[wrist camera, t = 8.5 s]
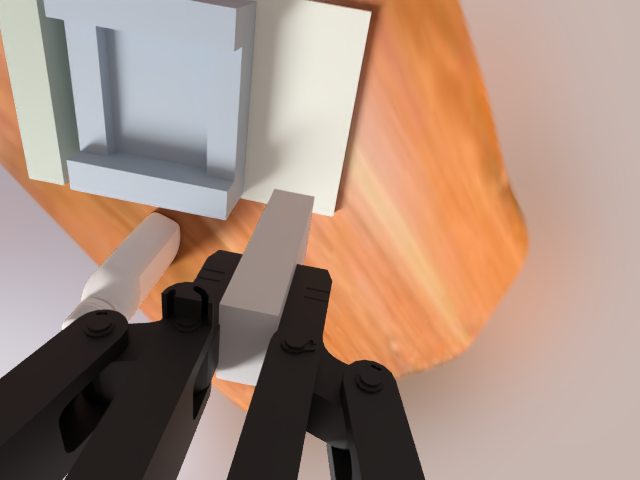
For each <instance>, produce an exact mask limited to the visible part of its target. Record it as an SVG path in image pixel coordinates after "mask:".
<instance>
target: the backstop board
mask: <svg viewBox="0 0 640 480" xmlns="http://www.w3.org/2000/svg"><path fill="white" fill-rule="evenodd" d="M250 1H256V2H257V4H256V18H255V32H254V46H253V61H252V75H251V89H250V104H249V118H248V132H247V147H246V161H245V175H244V189H243V194H242V196H241V197H240V198H241V199H246V200H251V201H256V202H261V203H266V204H267V203H268V201H269V199H270V197H271V195H272V193H273V191H274V189H278V190H283V191H288V192H294V193H299V194H304V195H309V196H314V197H315V198H314V204H313V211H312V213H317V214H322V215H327V216H332V217H333V215H334V210H335V205H336V199H337V194H338V189H339V183H340V178H341V173H342V167H343V162H344V157H345V152H346V146H347V141H348V136H349V130H350V125H351V120H352V114H353V109H354V104H355V98H356V93H357V88H358V82H359V77H360V72H361V66H362V61H363V56H364V50H365V45H366V40H367V34H368V29H369V24H370V18H371V13H372V11H368V10H363V9H357V8H352V7H346V6H341V5H335V4H330V3H324V2H319V1H313V0H250ZM0 29H1V34H2V40H3V45H4V50H5V55H6V60H7V66H8V71H9V76H10V81H11V86H12V91H13V97H14V102H15V107H16V112H17V117H18V123H19V128H20V133H21V138H22V143H23V148H24V154H25V159H26V164H27V169H28V174H29V178H30V179H35V180H40V181H45V182H50V183H55V184H60V185H66V184H67V183H68V182H70V181H69V174H68V167H67V159H69V158H70V157H72V156H74V155H75V154H77V153H78V152H80V144H79V136H78V128H77V120H76V112H75V104H74V96H73V88H72V80H71V72H70V65H69V57H68V49H67V41H66V33H65V25H64V20H61V19H56V18H50V17H46V14H45V7H44V0H0Z"/></svg>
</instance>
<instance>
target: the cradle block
mask: <svg viewBox="0 0 640 480" xmlns="http://www.w3.org/2000/svg"><path fill="white" fill-rule="evenodd" d="M256 4H257V2H256V1H250V0H44V7H45V14H46V17H50V18H56V19H61V20H64V25H65V33H66V41H67V49H68V57H69V65H70V72H71V80H72V88H73V96H74V104H75V112H76V120H77V128H78V136H79V144H80V152H78V153H77V154H75V155H74V156H72V157H70V158H69V159H67V167H68V174H69V181H70V188H71V190H76V191H81V192H86V193H91V194H96V195H101V196H106V197H111V198H116V199H121V200H126V201H131V202H136V203H141V204H146V205H151V206H156V207H161V208H166V209H171V210H176V211H181V212H186V213H191V214H196V215H201V216H206V217H211V218H216V219H221V220H226V219H227V218H228V216H229V214H230V213H231V211H232V210H233V208H234V207H235V205H236V203H237V202H238V200H239V199H240V197H241V196H242V194H243V189H244V175H245V161H246V147H247V132H248V118H249V104H250V89H251V75H252V61H253V46H254V32H255V18H256Z"/></svg>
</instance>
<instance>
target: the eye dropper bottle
mask: <svg viewBox="0 0 640 480" xmlns="http://www.w3.org/2000/svg"><path fill="white" fill-rule="evenodd" d="M179 245H180V227H179V225H178V223H176V222H175V221H173V220H172V219H170V218H168V217H166V216H164V215H162V214H160V213H156V212H154V213H151V214H150V215H148V216H147V217H146V218H145V219H144V220H143V221H142V222H141V223H140V224H139V225H138V226H137V227H136V228H135V229H134V230H133V231H132V232H131V233H130V234H129V235H128V237H127V238H126V239H125V240H124V241H123V242H122V243H121V244H120V245H119V246H118V247H117V248H116V249H115V250H114V251H113V252H112V253H111V255H110V256H109V257H108V258H107V259H106V260H105V261H104V262H103V263H102V264H101V265H100V266H99V267H98V269H97V270H96V271H95V272H94V273H93V275H92V276H91V277H90V279H89V280H88V282H87V283H86V285H85V287H84V290H83V293H82V298H81V303H80V304H79V305H78V306H77V308H76V309H75V310H74V311H73V312H72V313H71V314H70V315H69V316H68V318H67V319H66V320H65V321H64V322H63V324H62V330H63V329H65V328H66V327H67V326H68V325H70V324H71V323H72V322H73V321H75V320H76V319H77V318H79V317H81V316H82V315H84V314H86V313H88V312H92V311H95V310H104V309H110V310H114V311H118V312H120V313H121V314H123V315H124V316H125V317H126V319H127V321H129V320H130V319H131V317H132V316H133V315H134V313H135V312H136V311H137V309H138V308H139V307H140V305H141V304H142V303H143V301H144V300H145V298H146V297H147V296H148V294H149V293H150V292H151V290H152V289H153V287H154V286H155V285H156V283H157V282H158V281H159V279H160V278H161V276H162V275H163V274H164V272H165V271H166V270H167V268H168V267H169V265H170V264H171V263H172V261H173V260H174V258H175V256H176V254H177V252H178V249H179Z"/></svg>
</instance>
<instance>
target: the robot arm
mask: <svg viewBox="0 0 640 480" xmlns="http://www.w3.org/2000/svg"><path fill="white" fill-rule="evenodd" d="M314 198H315V197H314V196H309V195H304V194H299V193H294V192H288V191H283V190H278V189H274V191H273V193H272V195H271V197H270V199H269V201H268V203H267V205H266V207H265V209H264V212H263V214H262V216H261V218H260V220H259V222H258V224H257V226H256V228H255V230H254V233H253V235H252V237H251V239H250V241H249V243H248V245H247V247H246V249H245V251H244V253H243V254H238V253H233V252H228V251H223V250H218V251H217V252H215V253H214V254H212V255H211V256H209V257H208V258H207V260H206V261H205V263H204V265H203V267H202V269H201V270H200V272H199V273H198V275H197V278H196V279H195V280H194V282H183V283H177V284H174V285H172V286H170V287H168V288H167V289H165V290H164V291H163V292H162V293H161V294H162V316H163V318H162V320H160V321H156V322H150V323H136V324H135V323H134V324H128V321H127V319H126V317H125V316H124V315H123V314H121V313H120V312H118V311H114V310H110V309H104V310H95V311H92V312H88V313H86V314H84V315H82V316H81V317H79V318H77V319H76V320H75V321H73V322H72V323H71V324H70V325H68V326H67V327H66V328H65V329H63V330H62V331H61V332H59V333H58V334H57V335H56V336H54V337H53V338H52V339H50V340H49V341H48V342H47V343H45V344H44V345H43V346H41V347H40V348H39V349H38V350H36V351H35V352H34V353H33V354H31V355H30V356H29V357H28V358H26V359H25V360H24V361H22V362H21V363H20V364H18V365H17V366H16V367H15V368H13V369H12V370H11V371H10V372H8V373H7V374H6V375H5V376H3V377H2V378H1V379H0V480H63V478H64V477H65V476H66V475H67V474H68V475H67V476H66V478H65V480H176V478H177V476H178V474H179V471H180V469H181V466H182V464H183V461H184V459H185V456H186V454H187V451H188V449H189V446H190V443H191V441H192V439H193V436H194V434H195V431H196V429H197V426H198V424H199V421H200V419H201V416H202V414H203V411H204V409H205V406H206V403H207V401H208V398H209V396H210V392H211V380H212V377H213V375H214V372H215V370H216V368H217V373H216V378H218V379H223V380H228V381H233V382H238V383H242V384H247V385H252V386H256V387H255V390H254V393H253V397H252V400H251V403H250V406H249V409H248V413H247V416H246V419H245V423H244V426H243V429H242V432H241V435H240V438H239V442H238V445H237V448H236V451H235V455H234V458H233V461H232V464H231V468H230V471H229V474H228V477H227V480H297V478H298V472H299V467H300V461H301V456H302V450H303V444H304V439H305V434H306V431H307V432H309V433H310V434H312V435H314V436H315V437H317V438H319V439H321V440H323V441H324V442H326V443H327V452H328V460H329V468H330V475H331V480H425V477H424V474H423V471H422V467H421V464H420V460H419V457H418V454H417V451H416V448H415V444H414V441H413V437H412V434H411V430H410V427H409V424H408V420H407V417H406V414H405V410H404V407H403V403H402V400H401V397H400V393H399V390H398V387H397V383H396V380H395V378H394V377H393V375H392V373H391V372H390V371H389V370H388V369H387V368H386V367H385V366H383V365H381V364H379V363H377V362H374V361H368V360H361V361H355V362H353V363H352V364H350V365H348V364H345V363H343V362H341V361H340V360H338V359H336V358H335V357H333V356H332V355H331V354H330V353H329V352H328V351H327V349H326V348H325V346H324V343H323V330H324V325H325V319H326V313H327V308H328V302H329V296H330V291H331V285H332V279H331V277H330V275H329V272H328V270H325V269H320V268H315V267H310V266H305V265H303V263H304V260H305V255H306V249H307V242H308V236H309V230H310V223H311V217H312V211H313V204H314Z"/></svg>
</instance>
